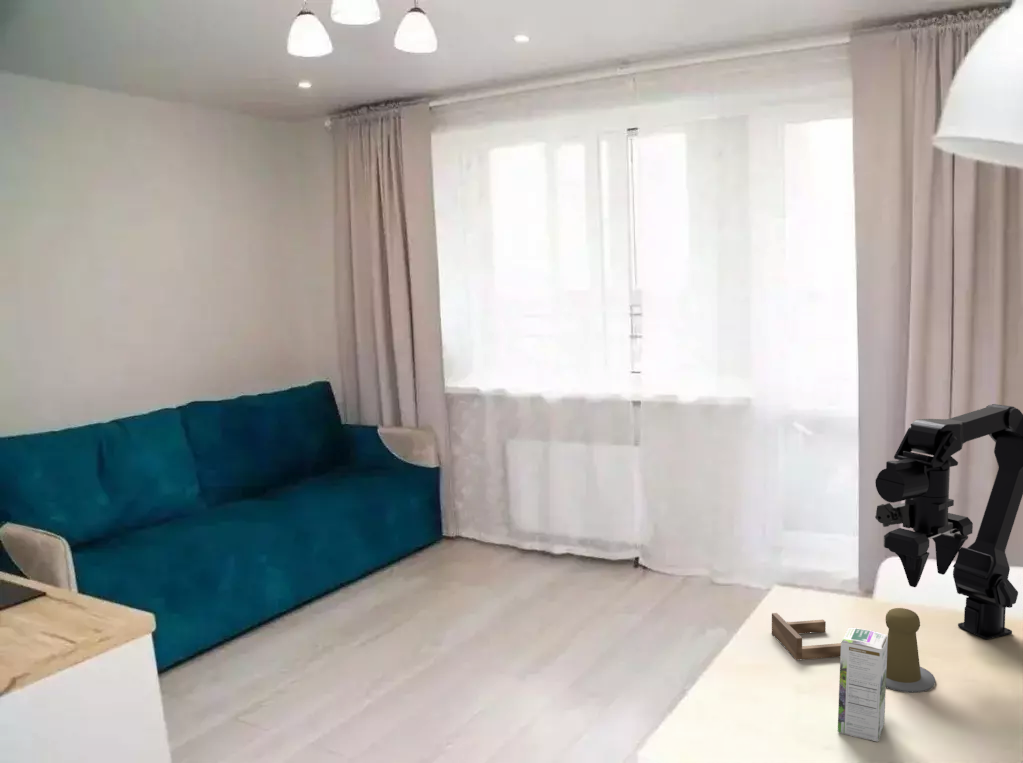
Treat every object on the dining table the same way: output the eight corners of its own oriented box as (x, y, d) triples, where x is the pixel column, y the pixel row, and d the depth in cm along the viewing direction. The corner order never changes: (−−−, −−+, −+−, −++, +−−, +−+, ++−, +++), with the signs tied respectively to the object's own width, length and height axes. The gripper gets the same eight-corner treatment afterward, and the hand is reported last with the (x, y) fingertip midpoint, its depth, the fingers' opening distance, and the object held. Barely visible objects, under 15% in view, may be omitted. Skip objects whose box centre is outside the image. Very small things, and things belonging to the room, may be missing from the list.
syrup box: (844, 715, 132) (845, 625, 130) (886, 724, 129) (888, 632, 127) (837, 733, 127) (838, 640, 125) (880, 743, 124) (882, 648, 122)
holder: (823, 629, 162) (823, 609, 162) (851, 655, 152) (851, 634, 151) (771, 633, 161) (771, 613, 161) (796, 660, 151) (796, 638, 150)
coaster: (902, 659, 150) (902, 656, 149) (949, 685, 140) (949, 682, 140) (855, 670, 146) (855, 667, 146) (900, 697, 137) (900, 694, 137)
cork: (899, 662, 147) (901, 601, 146) (929, 677, 142) (931, 613, 140) (873, 670, 145) (874, 608, 143) (902, 686, 139) (904, 621, 138)
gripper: (914, 475, 160) (912, 556, 162) (856, 493, 150) (854, 580, 152) (975, 487, 151) (972, 572, 153) (918, 507, 141) (915, 598, 143)
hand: (927, 580), depth 151 cm, fingers open, 9 cm apart
